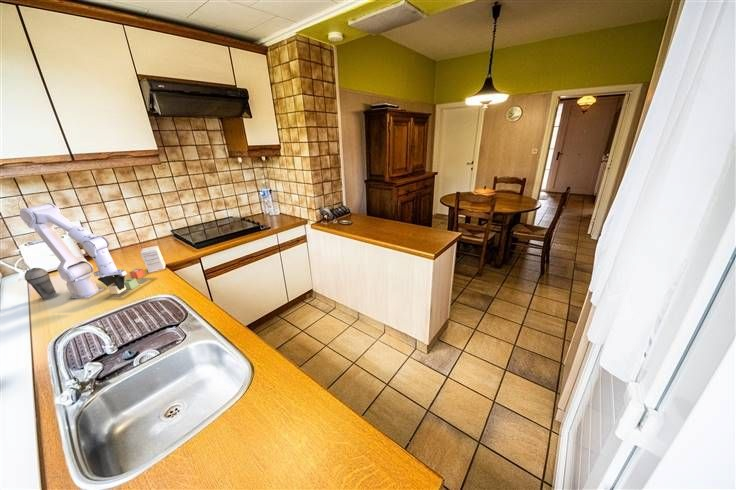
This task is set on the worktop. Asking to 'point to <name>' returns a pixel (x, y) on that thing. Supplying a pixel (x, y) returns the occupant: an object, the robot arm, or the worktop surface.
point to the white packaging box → (153, 258)
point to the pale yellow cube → (115, 289)
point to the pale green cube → (130, 283)
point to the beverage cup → (40, 282)
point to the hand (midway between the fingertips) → (117, 288)
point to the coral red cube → (137, 273)
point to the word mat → (132, 289)
